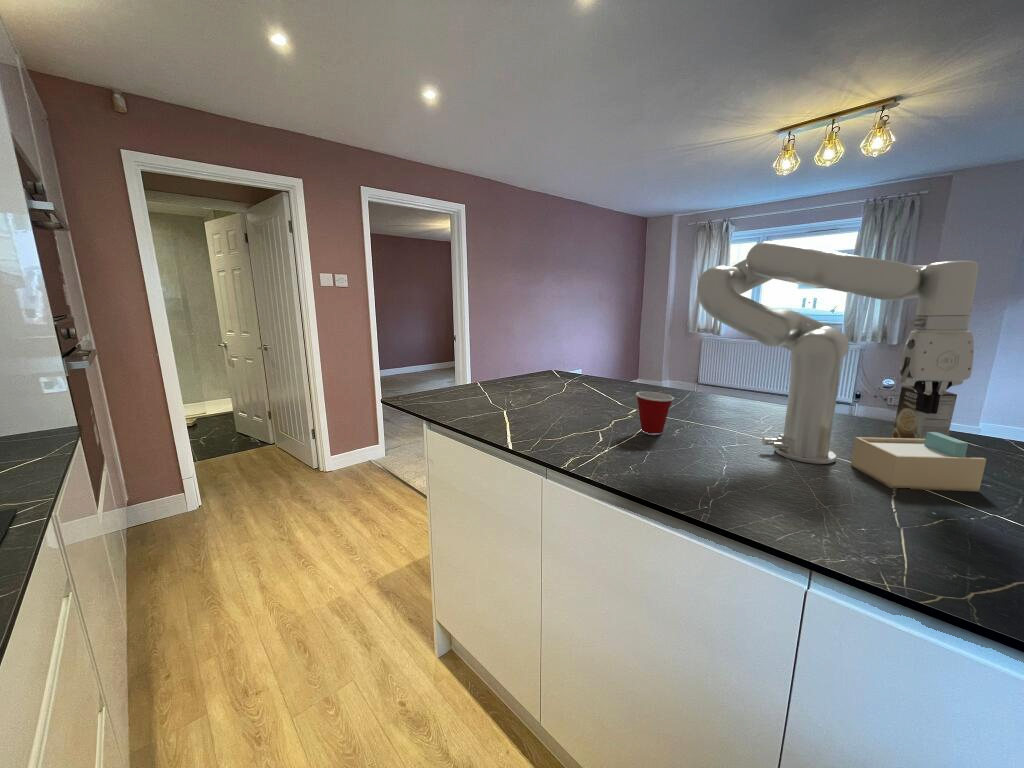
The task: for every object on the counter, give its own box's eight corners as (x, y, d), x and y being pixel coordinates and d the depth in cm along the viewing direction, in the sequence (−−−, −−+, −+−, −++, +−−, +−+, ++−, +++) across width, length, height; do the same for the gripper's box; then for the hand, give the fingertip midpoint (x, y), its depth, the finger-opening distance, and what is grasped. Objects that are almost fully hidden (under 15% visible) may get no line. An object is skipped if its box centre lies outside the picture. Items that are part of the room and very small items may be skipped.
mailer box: (890, 488, 83) (896, 456, 81) (850, 465, 94) (855, 437, 93) (978, 491, 81) (986, 459, 79) (926, 467, 92) (932, 438, 91)
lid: (897, 461, 83) (900, 443, 82) (862, 444, 92) (864, 428, 91) (974, 463, 81) (978, 445, 80) (930, 446, 90) (933, 430, 90)
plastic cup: (677, 438, 115) (680, 398, 112) (640, 439, 115) (641, 398, 113) (664, 427, 125) (666, 390, 123) (629, 427, 126) (631, 390, 123)
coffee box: (889, 443, 108) (899, 385, 105) (917, 444, 107) (928, 386, 104) (915, 455, 99) (927, 393, 96) (945, 457, 98) (959, 393, 95)
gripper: (915, 326, 78) (900, 416, 82) (1002, 324, 76) (984, 417, 80) (885, 324, 85) (873, 407, 89) (964, 322, 83) (949, 407, 87)
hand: (925, 411), depth 84 cm, fingers closed
